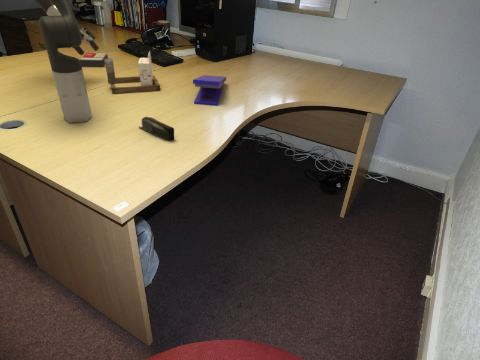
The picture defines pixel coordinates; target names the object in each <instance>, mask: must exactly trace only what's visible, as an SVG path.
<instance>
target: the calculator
mask: <svg viewBox="0 0 480 360" xmlns="http://www.w3.org/2000/svg"><path fill="white" fill-rule="evenodd" d="M107 58H109V55H108V54H107V53H103V52H102V53H100V52H99V53H98V52H97V53H96V52H86V53H84V54H83V55H82V57H81V58H79V60H80V61H81V64H82V68H105V67H106V66H105V59H107Z"/></svg>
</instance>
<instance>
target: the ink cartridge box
mask: <svg viewBox="0 0 480 360" xmlns="http://www.w3.org/2000/svg"><path fill="white" fill-rule="evenodd" d="M137 64H138V70H139V72H138V73H139V76H140V81H139V82H140V86H149V85H154V84H153V76H154V75H153V66H152V64H153V63H152V56H151V51H150V50H149V52H148V54H147V57H140V58H139V59H138V62H137Z"/></svg>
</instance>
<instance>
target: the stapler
mask: <svg viewBox="0 0 480 360" xmlns="http://www.w3.org/2000/svg"><path fill="white" fill-rule="evenodd" d="M226 81H227V76H221V75H220V76H219V75H207V74H206V75H205V74H203V75H201V76H198V77H196V78H194V79H192V84H193V85H194V87H195V88H196V87H198V88H199V90H198V92H197V94H196V96H195V99H194V101H193V104H194V105H204V106H212V107H213V106H216V107H218V106H219V103H220V100H221V96H222V92H223V89H224V85H225V82H226Z"/></svg>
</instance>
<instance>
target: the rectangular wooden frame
mask: <svg viewBox="0 0 480 360" xmlns="http://www.w3.org/2000/svg"><path fill="white" fill-rule="evenodd" d="M104 67H105V69H106V70H105V71H106V76H107V77H106V78H107V83H108V85H110V88H111V93H112V94H122V93H136V92H149V91H150V92H151V91H161V84H160V83H159V81H158V80H157V79H158V78H157V77H156V75H153V85H149V86H141V85H136V86H135V85H134V86H121V87H116V86H115V84H117V83H121V84H122V83H135V82H141V81H140V75H139V76H138V75H137V76H124V77H121V76H120V77H116V73H115V66H114V60H113V58H109V57H108V58H107V59H105V66H104Z"/></svg>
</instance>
